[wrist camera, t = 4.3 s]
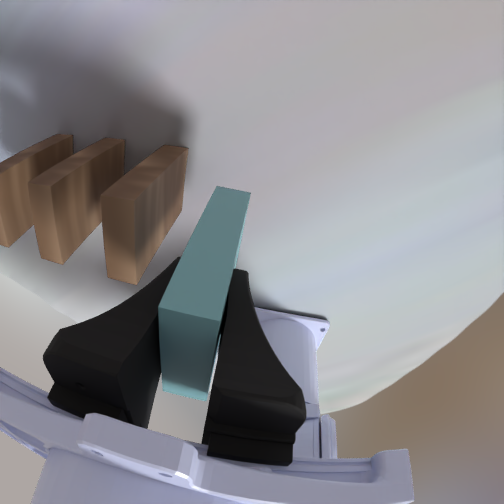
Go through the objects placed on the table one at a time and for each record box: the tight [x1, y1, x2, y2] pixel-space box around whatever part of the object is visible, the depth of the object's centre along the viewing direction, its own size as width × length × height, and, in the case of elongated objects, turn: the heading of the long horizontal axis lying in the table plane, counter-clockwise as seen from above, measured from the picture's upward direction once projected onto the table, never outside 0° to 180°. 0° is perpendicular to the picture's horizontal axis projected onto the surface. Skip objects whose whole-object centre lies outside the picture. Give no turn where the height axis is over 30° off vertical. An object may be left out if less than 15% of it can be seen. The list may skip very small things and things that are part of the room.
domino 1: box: [0, 134, 73, 248], centre depth 18 cm, size 2×5×9 cm, turn 169°
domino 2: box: [28, 138, 125, 265], centre depth 18 cm, size 2×5×9 cm, turn 169°
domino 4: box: [158, 186, 251, 401], centre depth 14 cm, size 2×5×9 cm, turn 169°
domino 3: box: [101, 145, 188, 285], centre depth 18 cm, size 2×5×9 cm, turn 169°
